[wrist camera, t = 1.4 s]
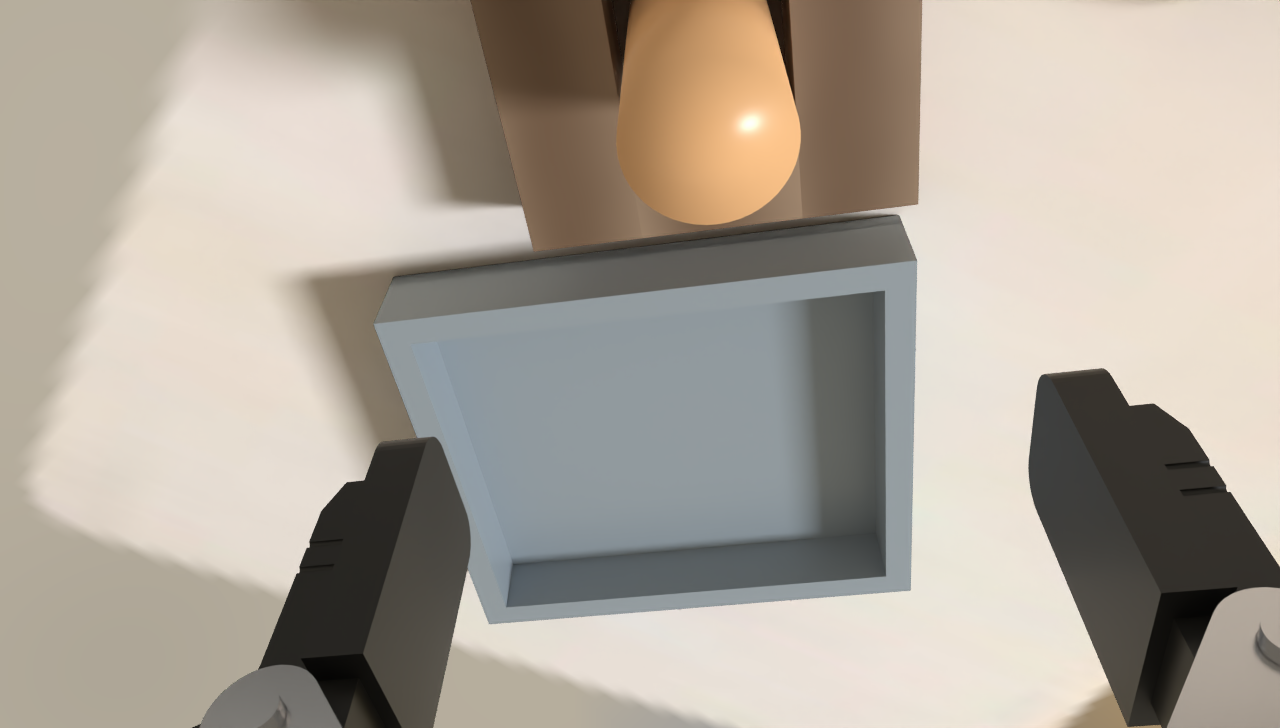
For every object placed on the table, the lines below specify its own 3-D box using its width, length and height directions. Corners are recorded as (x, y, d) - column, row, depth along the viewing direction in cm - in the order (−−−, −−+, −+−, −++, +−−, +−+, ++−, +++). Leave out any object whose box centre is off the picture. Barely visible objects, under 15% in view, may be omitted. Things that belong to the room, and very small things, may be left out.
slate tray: (898, 215, 33) (917, 260, 31) (896, 536, 43) (910, 590, 40) (393, 276, 35) (373, 324, 33) (498, 571, 45) (489, 624, 42)
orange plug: (758, -78, 28) (795, 39, 20) (768, 59, 30) (805, 213, 22) (620, -55, 28) (601, 67, 20) (641, 78, 30) (631, 234, 22)
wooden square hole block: (902, -268, 25) (927, -257, 22) (899, 161, 32) (917, 204, 30) (449, -188, 26) (427, -170, 24) (543, 207, 33) (533, 251, 31)
